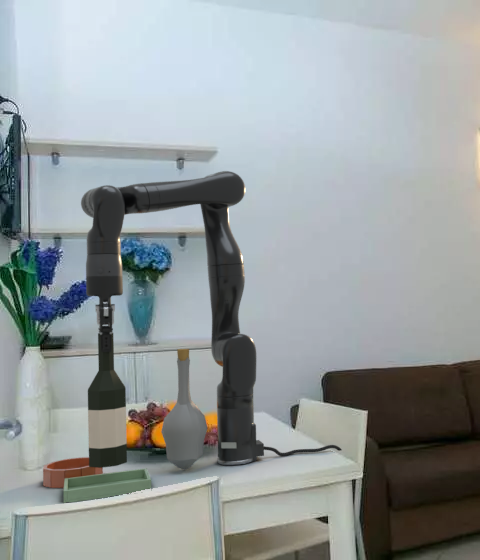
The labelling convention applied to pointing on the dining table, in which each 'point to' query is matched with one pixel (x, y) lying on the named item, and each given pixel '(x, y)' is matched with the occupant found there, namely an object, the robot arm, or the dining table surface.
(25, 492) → the dining table surface
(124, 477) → the tray
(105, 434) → the wine bottle
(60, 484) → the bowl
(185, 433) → the bottle
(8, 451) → the dining table surface
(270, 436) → the dining table surface
